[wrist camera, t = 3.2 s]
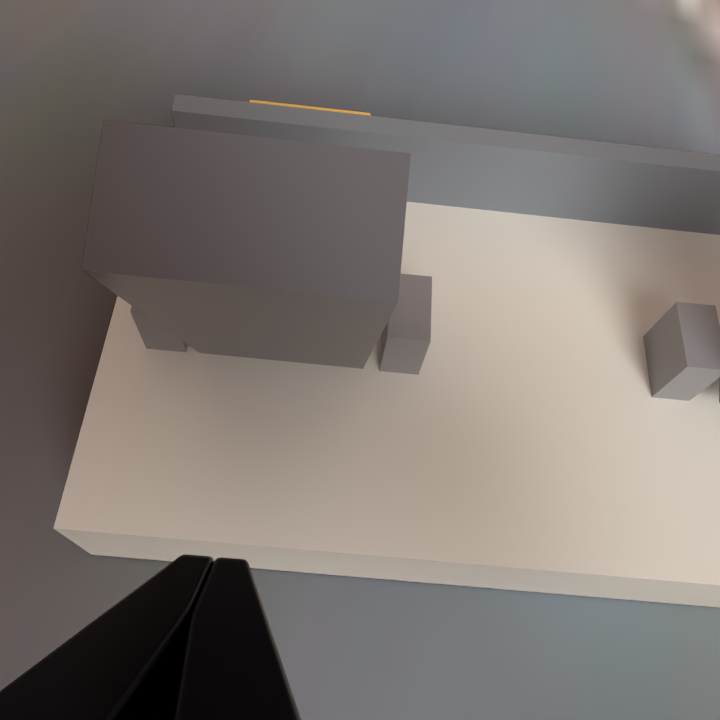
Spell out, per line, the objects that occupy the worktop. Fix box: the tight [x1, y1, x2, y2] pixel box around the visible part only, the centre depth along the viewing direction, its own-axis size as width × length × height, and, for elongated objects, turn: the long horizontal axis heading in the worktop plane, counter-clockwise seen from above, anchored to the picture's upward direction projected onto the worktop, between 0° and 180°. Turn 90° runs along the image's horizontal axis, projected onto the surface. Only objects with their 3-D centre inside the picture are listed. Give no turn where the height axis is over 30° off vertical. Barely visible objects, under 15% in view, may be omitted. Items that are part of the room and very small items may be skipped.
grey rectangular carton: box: [81, 120, 411, 369], centre depth 13 cm, size 2×4×8 cm, turn 86°
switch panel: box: [54, 94, 720, 607], centre depth 18 cm, size 11×22×6 cm, turn 86°
